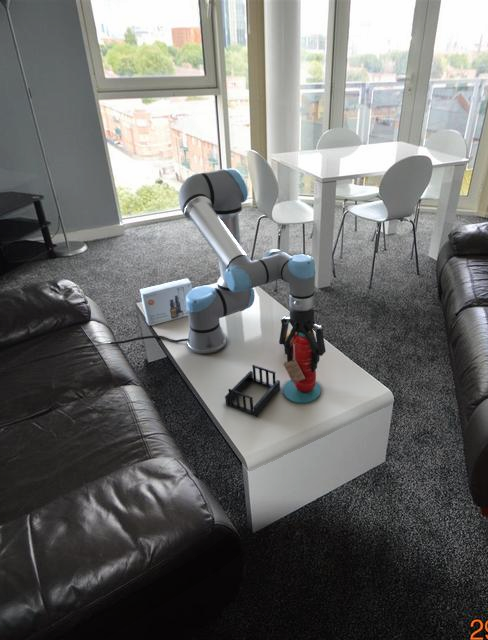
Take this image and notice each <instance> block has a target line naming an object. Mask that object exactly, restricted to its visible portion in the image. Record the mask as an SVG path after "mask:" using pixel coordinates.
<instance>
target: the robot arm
mask: <svg viewBox="0 0 488 640" xmlns="http://www.w3.org/2000/svg"><path fill="white" fill-rule="evenodd" d="M248 193H249V192H248V187H247V183H246V181H245V178H244V177H243V175H242V174H241V173H240V171H238V170H237V169H235V168H221V169H217V170H216V169H215V170H212V171H205V172H199V173H198V172H197V173H194V174H191V175H190V176H188V177H187V178H186V179H185V180H184V181H183V183H182V184H181V186H180V188H179V191H178V205H179V207H180V210H181V213H182V214H183V215H184V217H185V218H186V219H187V220H188V221H189V222H191V223H193V224H194V226H195V227H196V229H197V230H198V231H199V232H200V235H202V237H203V238H204V240H205V241H206V243H207V244H208V246H209V247H210V248H211V250H212V251H213V253H214V254H215V255H216V257H217V258H218V265H219V275H220V277H219V278H217V281H216V282H217V287H214V286H212V285H206V284H205V285H200V286H196V287H194V288H192V290H191V291H190V292H189V293H188V294H187V296H186V309H187V313H188V316H187V319H188V324H189V332H188V337H187V338H180V339H173V338H172V339H171V338H169V337H167V336H163V335H146V336H138V337H133V338H130V339H129V338H128V339H125V340H118V341H110V342H111V343H110V344H109V345H119V344H126V343H130V342H135V341H139V340H147V339H163V340H165V341H168V342H171V343H180V342H181V343H182V342H187V347H188V349H189V350H190V351H191V352H193V353H195V354H199V355H210V354H214V353H217V352H219V351H221V350H223V348H225V347H226V345H227V336H226V333H225V332H224V330H223V328H222V326H221V324H220V319H221V318H224V317H228V316H230V315H234V314H236V313H239V312H243V311H245V310H247V309H249V308H251V307H252V306H253V305H254V302H255V289H254V288H257V287H260V286H263V285H266V284H269V283H273V282H276V281H278V280H282V281H283V282H285V283H287V284H288V289H289V290H288V291H289V292H288V293H289V295H288V297H289V299H288V300H289V316H288V315H284V316H283V317H282V318H281V319H280V323H281V328H280V333H279V340H278V344H279V345H283V347H284V354H285V355H286V362H288V361H291V360H294V354H293V344H290V343H291V341H292V339H293V338H294V336H295V334H296V332H297V333H302V334H304V335H305V337H306V338H307V340H308V342H309V344H310V347H311V349H312V352H313V354H312V355H311V372H314V371H315V370H317V369H318V364H319V362H320V357H322V356H323V355H325V353H326V350H327V349H326V345H325V338H324V333H323V331H324V325H323V324H320V325H319V324H316V322H315V291H316V290H315V289H316V288H315V287H316V263H315V262H316V261H315V259H314V258H313V256H311V255H308V254H303V253H299V254H298V253H297V254H294V255H292V256H291V255H290V254H288V253H287V252H285V251H283V250H280V249H276V248H274V249H270V250H269V251H268V252H267V253H265V255H264V257H261V258H259V259H254V260H251V259H250V257H249V256H248V254H247V253H246V252H245V250H244V249H243V248H242V245H241V244H242V243H241V234H240V233H241V231H240V219H239V214H240V213H241V212H242V211H243V205H242V204H243V203H245V202H247V199H248V197H249V195H248ZM289 325H291V330H290V331H289V332H290V334H289V336H288V338H287V340H286V336H287V333H288V329H289ZM310 331H311V332H310ZM309 332H310V333H309ZM308 333H309V334H308ZM313 333H314V334H313ZM314 335H315V336H314ZM315 337H316V339H315Z"/></svg>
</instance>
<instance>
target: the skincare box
mask: <svg viewBox="0 0 488 640" xmlns="http://www.w3.org/2000/svg"><path fill="white" fill-rule="evenodd" d="M192 289H193V285H192V281H191V280H190V279H189V278H188V277H187V278H186V277H185V278H183V279H179V280H174V281H170V282H165V283H161V284H156V285H152V286H149V287H144V288H140V289H139V293H140V296H141V303H142V307H143V311H144V316H145V321H146V324H147V325H148V326H149V327H151V326H155V325H158V324H162V323H166V322H169V321H173V320H177V319H180V318H184V317H188V313H187V309H186V296H187V294H188V293H189V292H190V291H191V290H192Z"/></svg>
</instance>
